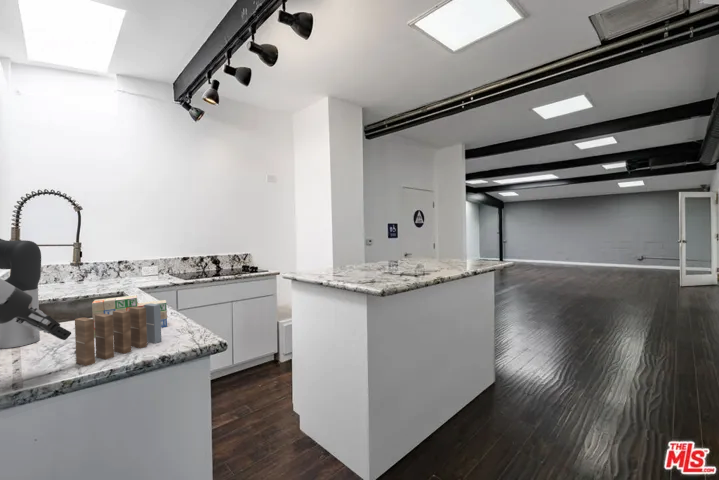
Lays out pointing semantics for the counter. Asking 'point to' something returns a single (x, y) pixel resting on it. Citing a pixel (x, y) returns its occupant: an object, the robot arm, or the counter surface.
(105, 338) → the domino
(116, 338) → the domino
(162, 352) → the counter surface
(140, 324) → the domino
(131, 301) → the stack of blocks
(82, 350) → the domino
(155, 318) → the domino
